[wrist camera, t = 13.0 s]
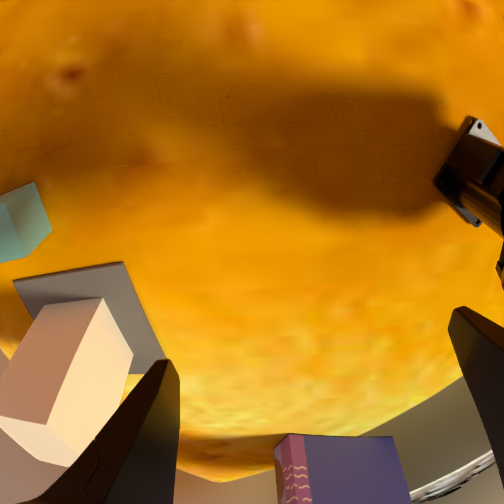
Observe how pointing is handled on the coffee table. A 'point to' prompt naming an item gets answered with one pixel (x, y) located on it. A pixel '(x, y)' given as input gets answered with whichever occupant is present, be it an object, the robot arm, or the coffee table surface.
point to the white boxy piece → (64, 380)
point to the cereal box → (339, 470)
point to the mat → (115, 296)
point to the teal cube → (21, 222)
